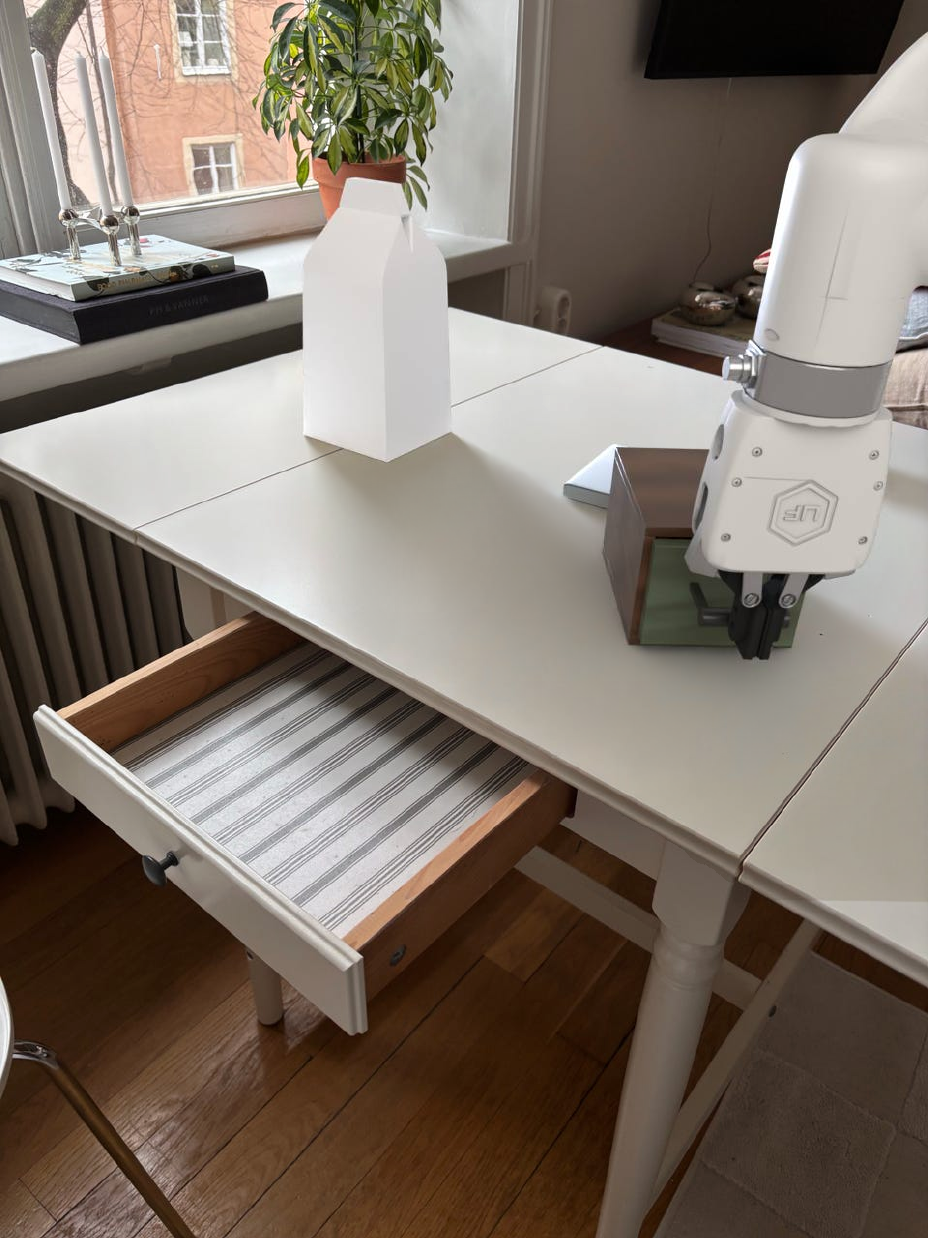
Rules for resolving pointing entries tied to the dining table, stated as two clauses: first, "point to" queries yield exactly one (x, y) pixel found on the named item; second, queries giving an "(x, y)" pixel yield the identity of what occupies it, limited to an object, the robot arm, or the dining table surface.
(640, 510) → the cabinet
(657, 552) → the drawer
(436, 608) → the dining table surface
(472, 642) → the dining table surface
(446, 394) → the milk
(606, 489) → the hard drive
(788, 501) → the robot arm
